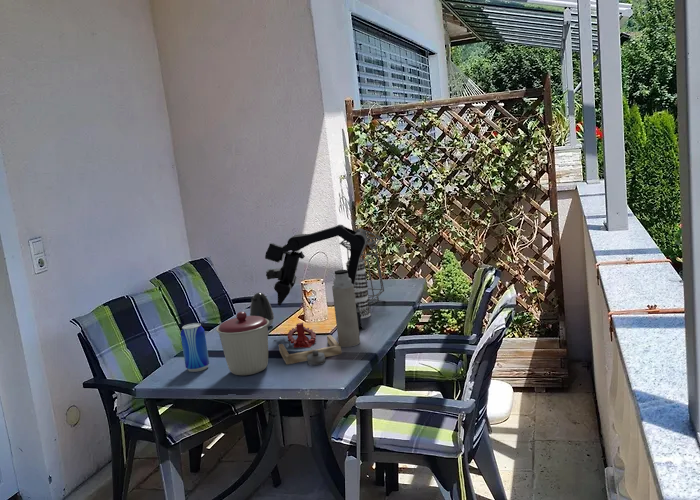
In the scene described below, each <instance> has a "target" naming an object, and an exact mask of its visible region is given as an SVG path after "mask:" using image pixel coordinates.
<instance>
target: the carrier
mask: <svg viewBox="0 0 700 500" xmlns="http://www.w3.org/2000/svg"><path fill="white" fill-rule="evenodd" d="M326 341H327V344H328V345H329V346H326V347H322V348H317V349H316V348H315V349H311V350H305V351H300V352H295V353H289V352H288V349H287V348H286V346H285V345H284V344H283V343H279V344H278V348H279V354H280V355H281V357H282V359H283V360H284V363H285V364H286V365H291V364H292V365H293V364H296V363H297V364H298V363H302V362H306V361H307V364H308V365H310V366H318V365H322V364H324V363H325V362H326V358H329V357H332V356H338V355H342V354H343V353H342V346H340V345H339V341H337V340H336V339H335V338H334V337H333V336H332V335H331V334H328V335H326Z"/></svg>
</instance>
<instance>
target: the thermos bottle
mask: <svg viewBox="0 0 700 500" xmlns="http://www.w3.org/2000/svg"><path fill="white" fill-rule="evenodd" d="M334 278H335V279H333V280H332V281H333V283H332V288H331V289H332V297H333V304H334V306H333V307H334V314H335V323H336V331H337V340H338V341H337V342H338V343H339V345H340V346H341V348H342V347H343V348H351V347H355V346H358V345H360V343H361V339H360V330H359V328H358V319H357V311H356V302H355V293H354V284H352V283H351V281H352V280H351V278H349V277H348V270H347V269H338V270H335V271H334Z"/></svg>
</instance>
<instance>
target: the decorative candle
mask: <svg viewBox="0 0 700 500" xmlns="http://www.w3.org/2000/svg"><path fill="white" fill-rule="evenodd" d="M349 261H350V259H349V260H348V259H347V262H346V263H345V266H346V270H348V266H349ZM364 263H365V261H363V260H362V258H361V257H360V260H359V265H358V270H357V275H356V280H355V284H354V293H355V302H356V304H358V305H359V306H360V307H359V311H358V312H359V313H360V317H361V320H362V319H366V318H369V317H370V316H371V315H372V314H371V310H370V309H371V306H370V305H369V304H370V301H369V299H370V298H369V299H368V295H369V294H368V295H367V289H368V288H369V285H368V281H367V282H366V280H365V279H367V280H368V277H367V276H368V273H365V271H366V267H365V268H364ZM365 276H366V277H365ZM366 284H367V285H366ZM368 290H369V289H368Z"/></svg>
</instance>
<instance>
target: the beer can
mask: <svg viewBox="0 0 700 500" xmlns="http://www.w3.org/2000/svg"><path fill="white" fill-rule="evenodd" d="M205 333H206V332H205V328H203V326H202V324H201V323H198V322H193V323H188V324H185V325H183V326H182V327H181V332H180V339H181V346H182V352H183V358H184V359H183V360H184V365H185V369H186V370H187V371H188V372H189V373H197V372H201V371H204V370H207V369H208V367H209V365H210V359H209V351H208V345H207V338H206V334H205Z"/></svg>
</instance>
